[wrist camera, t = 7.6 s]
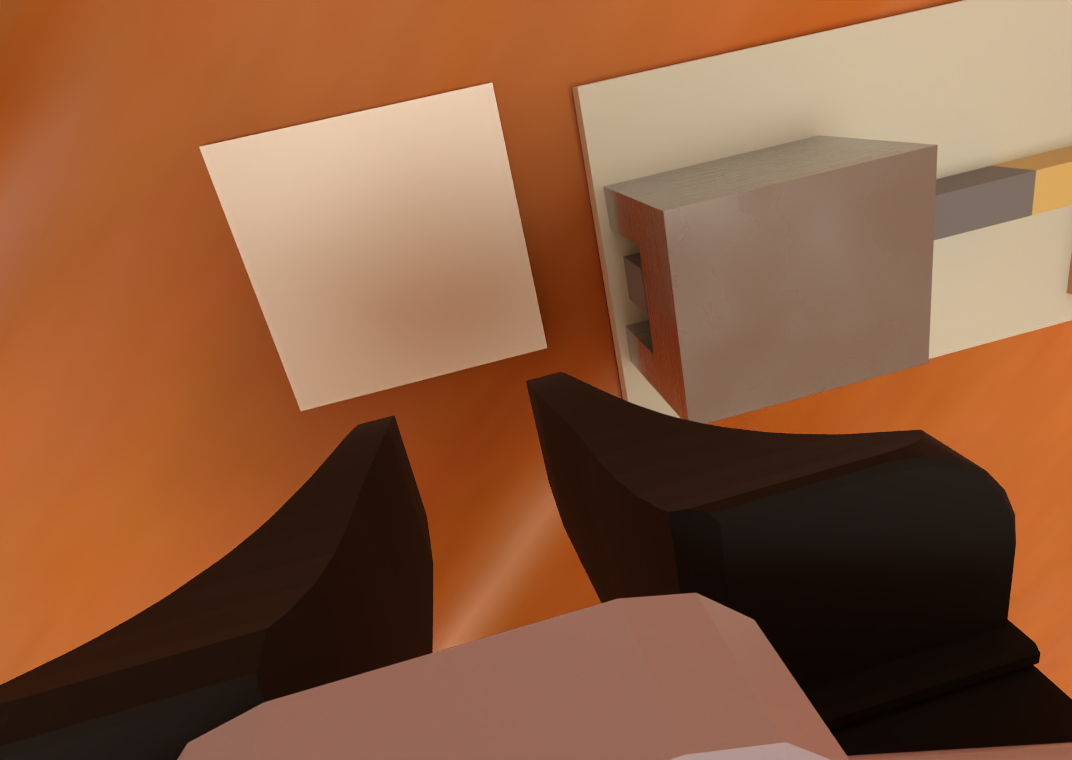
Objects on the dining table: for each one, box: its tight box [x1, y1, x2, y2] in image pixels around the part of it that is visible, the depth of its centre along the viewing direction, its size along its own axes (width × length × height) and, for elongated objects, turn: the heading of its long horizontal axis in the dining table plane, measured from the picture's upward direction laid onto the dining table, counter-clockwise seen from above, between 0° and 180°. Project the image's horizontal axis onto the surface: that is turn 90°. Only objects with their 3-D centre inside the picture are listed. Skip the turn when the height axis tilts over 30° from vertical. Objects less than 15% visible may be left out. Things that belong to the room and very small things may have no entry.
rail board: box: [572, 0, 1072, 418], centre depth 18 cm, size 10×16×4 cm, turn 101°
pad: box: [199, 83, 547, 411], centre depth 18 cm, size 7×7×1 cm
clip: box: [604, 135, 938, 424], centre depth 17 cm, size 5×6×4 cm
